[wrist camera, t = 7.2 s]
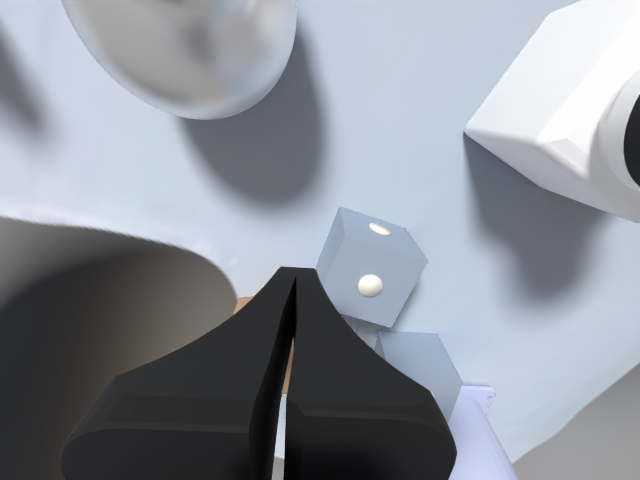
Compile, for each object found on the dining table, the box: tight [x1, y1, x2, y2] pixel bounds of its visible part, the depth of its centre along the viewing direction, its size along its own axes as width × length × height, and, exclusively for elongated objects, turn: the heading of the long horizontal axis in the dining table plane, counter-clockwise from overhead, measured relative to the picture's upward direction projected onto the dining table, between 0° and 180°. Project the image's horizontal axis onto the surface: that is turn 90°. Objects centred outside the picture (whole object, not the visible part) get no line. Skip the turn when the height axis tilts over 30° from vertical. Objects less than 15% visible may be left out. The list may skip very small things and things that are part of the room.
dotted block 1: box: [316, 206, 428, 328], centre depth 20 cm, size 5×5×5 cm
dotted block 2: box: [375, 331, 463, 424], centre depth 24 cm, size 5×5×5 cm
